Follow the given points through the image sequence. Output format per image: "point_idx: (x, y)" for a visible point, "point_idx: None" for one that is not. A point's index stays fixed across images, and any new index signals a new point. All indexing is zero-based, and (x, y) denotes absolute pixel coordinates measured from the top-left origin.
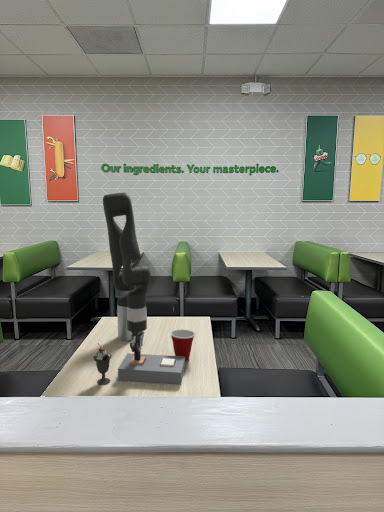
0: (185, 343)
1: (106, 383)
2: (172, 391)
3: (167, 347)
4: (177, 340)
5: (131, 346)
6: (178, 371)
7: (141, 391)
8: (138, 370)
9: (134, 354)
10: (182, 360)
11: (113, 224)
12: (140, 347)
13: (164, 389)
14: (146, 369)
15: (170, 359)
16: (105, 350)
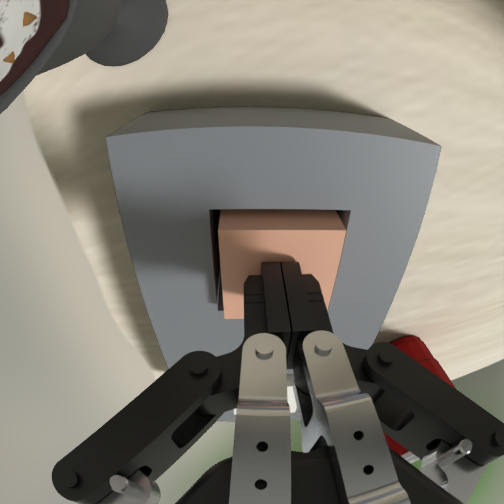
0: None
1: (93, 57)
2: (146, 359)
3: (499, 286)
4: (393, 445)
5: (77, 458)
6: None
7: (95, 270)
8: (142, 295)
9: (264, 304)
10: (296, 416)
11: None
12: (297, 401)
13: (147, 340)
14: (167, 334)
15: (289, 404)
16: None
